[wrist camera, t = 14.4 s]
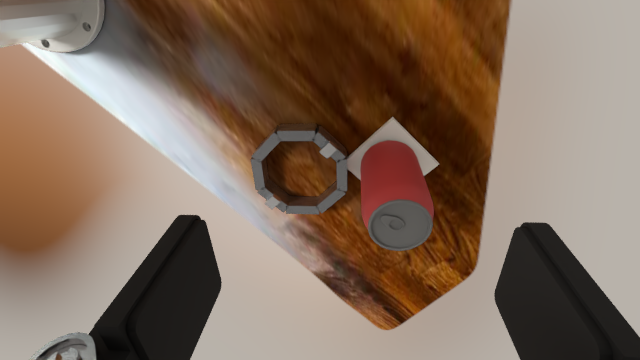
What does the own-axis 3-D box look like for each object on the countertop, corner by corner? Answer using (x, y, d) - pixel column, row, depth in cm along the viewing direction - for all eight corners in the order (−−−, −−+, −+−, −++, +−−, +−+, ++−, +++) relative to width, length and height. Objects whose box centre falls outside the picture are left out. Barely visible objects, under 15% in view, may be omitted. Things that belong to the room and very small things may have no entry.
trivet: (342, 161, 41) (341, 164, 40) (392, 116, 37) (393, 118, 37) (386, 201, 43) (387, 203, 42) (438, 162, 39) (439, 164, 39)
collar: (239, 167, 42) (231, 178, 40) (298, 102, 37) (294, 111, 35) (305, 218, 45) (302, 232, 43) (367, 165, 40) (368, 177, 38)
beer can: (380, 127, 37) (390, 182, 27) (428, 155, 38) (455, 218, 28) (349, 171, 40) (347, 236, 30) (395, 195, 42) (408, 266, 31)
